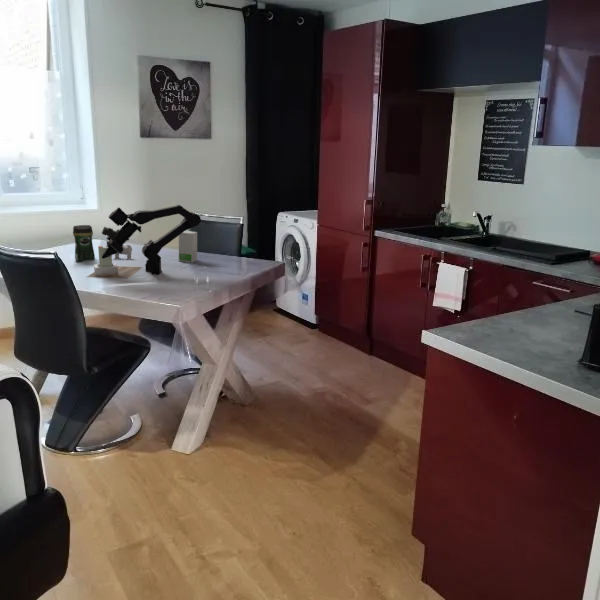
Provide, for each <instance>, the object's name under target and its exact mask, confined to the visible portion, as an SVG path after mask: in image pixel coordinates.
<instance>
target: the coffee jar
mask: <svg viewBox="0 0 600 600" xmlns="http://www.w3.org/2000/svg"><path fill="white" fill-rule="evenodd" d="M72 234H73V235H72V236H74V245H75V246H74V249H75V250H74V261H76V262H79V263H83V262H86V261H94V260H96V256H95V250H94V245H93V236H94V235H93V234H94V232H93V227H92V225H90V224H82V225H74V226H73V228H72Z"/></svg>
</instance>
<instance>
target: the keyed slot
mask: <svg viewBox="0 0 600 600" xmlns="http://www.w3.org/2000/svg"><path fill="white" fill-rule="evenodd" d="M93 271H94V272H93V273H95V276H107V275H118V264H117V263H116V262H114V263H113V262H112V266H104V267H100V265H99V263H94V264H93Z"/></svg>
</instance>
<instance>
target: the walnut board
mask: <svg viewBox="0 0 600 600" xmlns="http://www.w3.org/2000/svg"><path fill="white" fill-rule="evenodd" d="M117 266H118V265H117ZM142 268H144V267H143V266H141V267H140V266H122V265H121V266H120V265H119V266H118V275H107V276H95V273H94V272H91V274H89V275H87V276H86V278H101V279H102V278H103V279H104V278H105V279H107V278H108V279H129V278H131V277H132V276H133V275H135V274H136V273H137V272H139V271H140V270H141V269H142Z"/></svg>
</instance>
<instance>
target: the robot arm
mask: <svg viewBox="0 0 600 600" xmlns="http://www.w3.org/2000/svg"><path fill="white" fill-rule="evenodd" d="M174 215H180V216H182V217H183V219H182V220H181V222H180V223H179V224H177V225H176V226H175V227H173V228H172V229H171V230H169V231H168V232H165V234H163V235H162V236H161V237H159V238H158V239H157V240H154V241H153V240H152V239H150V240H149V241H148V242H147V243H144V244H143V246H142V249H141V253H142V255H143V256H144V257H145V258H147V260H146V261H145V262H146V263H145V265H144V267H145V273H146V272H147V273H151V274H152V275H160V274H161V273H163V270H162V257H161V256H160V255H159V253H160V252H161V250H162V249H163V248H164V247H165V246H166V245H168V244H169V243H170V242H172V241H173V240H175V239H176V238H178V237H179V235H180V234H181V233H183V232H184V231H189V229H190V230H191V229H193V228H195V227H197V226H199V225H200V224H201V221H202V218H201V216H200V215H199V214H197V213H195V212H192V211H189V210H188V209H186V208H185V207H183V206H182V205H181V204H176V205H173V206H168V207H163V208H158V209H153V210H136V211H135V212H134V213H130V214H127V213H126V212H124V211H123V210H122V208H121V207H119V206H118V207H117V208H116V209H115V210H113V211H112V212H111V213H110V214H109V215H108V219H109V220H110V221H112V223H114V224H115V225H116V226H117V227H119V226H122V227H121V228H120V229H116V230H114V229H113V228H111V227H106V226H104V227H103V229H102V231H101V235H102V236H107V237H106V246H105V247H108V248H107V250H106V251H105V253H104V254H103V256H102V258H103V259H104V258H107V257H109V256H111V255H112V256H115V254H116V253H120V254H119V255H122V254H121V253H122V252H123V246H124V244H125V243H126V242H127V241H129V240H130V238H131V237H132V236H133V235H134V234H135V233H136V231H138V232H139V233H142V226H141V225H145V224H147V223H149V222H152V221H153V220H155V219H160V218H161V219H162V218H166V217H169V216H174ZM129 220H130V221H129Z"/></svg>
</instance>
